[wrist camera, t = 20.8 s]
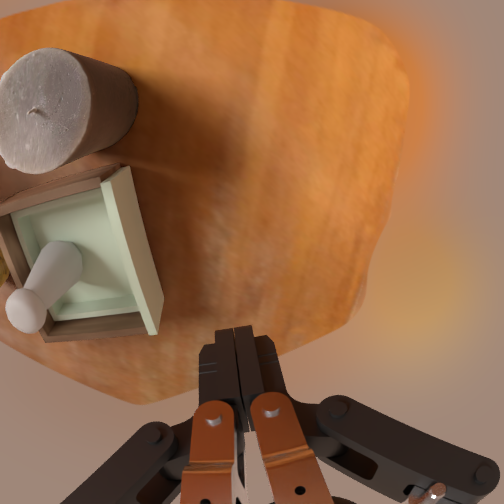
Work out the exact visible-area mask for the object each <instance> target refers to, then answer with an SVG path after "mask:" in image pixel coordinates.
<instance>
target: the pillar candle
mask: <svg viewBox="0 0 504 504" xmlns="http://www.w3.org/2000/svg"><path fill="white" fill-rule="evenodd" d="M137 110H138V92H137V88H136V87H135V86H134V84H133V82H132V81H131V78H130V76H129V75H128V74H127V73H126V72H124V71H123V70H121V69H120V68H118V67H115V66H112V65H110V64H107V63H104V62H101V61H98V60H95V59H92V58H89V57H85V56H82V55H79V54H76V53H72V52H69V51H66V50H62V49H58V48H42V49H39V50H36V51H33V52H30V53H28V54H26V55H25V56H23V57H21V58H20V59H19V60H17V61H16V62H15V63H14V64H13V65H12V66H11V67H10V68H9V69H8V71H6V72H5V73H4V74H3V75H2V78H1V81H0V155H1V156H2V157H3V159H4V160H5V164H7V166H8V167H10V168H12V169H17V170H19V171H22V172H23V173H29V174H42V173H46V172H50V171H52V170H55V169H57V168H59V167H61V166H63V165H65V164H68V163H70V162H72V161H75V160H77V159H79V158H81V157H84V156H86V155H89V154H91V153H94V152H96V151H99V150H102V149H105V148H107V147H110V146H112V145H113V144H115V143H116V142H118V141H119V140H120V139H122V137H123V136H124V135H125V134H126V133H127V132H128V131H129V129H130V128H131V126H132V124H133V123H134V120H135V117H136V115H137Z"/></svg>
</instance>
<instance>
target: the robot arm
mask: <svg viewBox="0 0 504 504" xmlns="http://www.w3.org/2000/svg"><path fill="white" fill-rule="evenodd" d="M234 333H235V336H234ZM247 417H248V418H247ZM248 420H249V424H250V428H251V431H255V432H256V436H257V440H258V445H259V449H260V453H261V456H262V460H263V463H264V467H265V471H266V475H267V478H268V482H269V486H270V489H271V493H272V497H273V500H274V502H273V503H270V504H356V503H354V502H351V501H350V500H347V499H344V498H340V497H335V496H331V494H330V492H329V489H328V487H327V484H326V482H325V479H324V477H323V474H322V472H321V469H320V467H319V464H318V462H317V459H316V457H318V458H319V459H320V460H321V461H323V462H324V463H326V464H328V465H330V466H331V467H333V468H335V469H336V470H338V471H340V472H342V473H343V474H345V475H347V476H349V477H351V478H352V479H354V480H356V481H358V482H360V483H362V484H364V485H366V486H367V487H369V488H371V489H373V490H375V491H377V492H379V493H381V494H383V495H385V496H387V497H389V498H391V499H393V500H395V501H398V502H400V503H401V504H477V503H478V502H479V501H480V500H481V499H483V498H484V497H485V496H487V495H488V494H489V493H490V492H492V491H493V490H494V489H495V487H496V486H497V484H498V482H499V479H500V471H499V467H498V465H497V464H496V463H495V462H494V461H493V460H491V459H489V458H486V457H484V456H481V455H478V454H476V453H473V452H470V451H468V450H465V449H463V448H460V447H458V446H455V445H452V444H450V443H448V442H445V441H443V440H440V439H438V438H436V437H433V436H431V435H429V434H426V433H424V432H422V431H419V430H417V429H415V428H412V427H410V426H408V425H406V424H404V423H401V422H399V421H397V420H395V419H393V418H391V417H388V416H386V415H384V414H382V413H380V412H378V411H376V410H374V409H371V408H370V407H367V406H365V405H363V404H361V403H359V402H357V401H355V400H353V399H351V398H349V397H347V396H342V395H335V396H331V397H328V398H326V399H324V400H323V401H322V402H321V403H320V404H307V403H301V402H298V401H296V400H294V399H293V398H292V397H290V395H289V394H288V393H287V390H286V387H285V383H284V379H283V375H282V372H281V368H280V364H279V361H278V356H277V353H276V349H275V345H274V342H273V341H272V340H271V339H270V338H269V337H268V336H267V335H264V336H258V337H254V335H253V330H252V325H248V326H242V327H236V328H234V332H233V328H230V329H223V330H217V331H215V343H214V344H207V345H204V346H203V348H202V350H201V352H200V354H199V406H198V408H197V409H196V411H195V413H194V415H193V416H192V417H191V418H190V419H188V420H187V421H185V422H182V423H180V424H177V425H174V426H172V427H170V426H168V425H167V424H165V423H163V422H150V423H147V424H145V425H144V426H142V427H141V428H140V429H139V430H138V431H137V432H136V433H135V434H134V435H133V436H132V437H131V438H130V439H129V440H128V441H127V442H126V443H125V444H123V445H122V446H121V447H120V448H119V449H118V450H117V451H116V452H115V453H114V454H113V455H112V456H111V457H110V458H109V459H108V460H107V461H106V462H105V463H104V464H103V465H102V466H101V467H100V468H98V469H97V470H96V471H95V472H94V473H93V474H92V475H91V476H90V477H89V478H88V479H87V480H86V481H84V482H83V483H82V484H81V485H80V486H79V487H78V488H77V489H76V490H75V491H74V492H72V493H71V494H70V495H69V496H68V497H67V498H66V499H65V500H64V501H63V502H61V503H60V504H170V503H171V502H172V501H173V500H174V499H175V497H177V495H178V494H179V493H180V492H181V494H180V504H249V499H248V494H247V478H246V454H245V439H244V433H245V432H249V425H248Z"/></svg>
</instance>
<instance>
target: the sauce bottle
mask: <svg viewBox="0 0 504 504" xmlns="http://www.w3.org/2000/svg"><path fill="white" fill-rule="evenodd" d="M9 274H10V271H9V268H8V266H7V264H6V261H5V259H4V256H3V254H2V251H1V248H0V287H1V286H2V285H3V283H4V282H5V281H6V280H7V278H8V276H9Z"/></svg>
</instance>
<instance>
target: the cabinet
mask: <svg viewBox="0 0 504 504" xmlns="http://www.w3.org/2000/svg"><path fill="white" fill-rule="evenodd" d="M120 168H121V166H120V163H116V164H112V165H108V166H104V167H100V168H96V169H93V170H89V171H85V172H82V173H78V174H75V175H71V176H68V177H64V178H61V179H58V180H55V181H51V182H48V183H45V184H42V185H39V186H36V187H33V188H30V189H27V190H24V191H21V192H18V193H16V194H15V195H13V196H11V197H10V198H8V199H6V200H5V201H3V202H1V203H0V248H1V251H2V254H3V256H4V259H5V261H6V264H7V266H8V268H9V271H10V273H11V275H12V278H13V280H14V282H15V284H16V287H17V289H20V288H23V287H24V285H25V283H26V281H27V278H28V276H29V274H30V272H31V270H30V267H29V265H28V262H27V260H26V257H25V254H24V252H23V249H22V247H21V244H20V241H19V238H18V236H17V233H16V230H15V227H14V224H13V221H12V218H11V215H10V213H12V212H15V211H18V210H21V209H24V208H27V207H31V206H34V205H37V204H40V203H44V202H47V201H51V200H54V199H58V198H61V197H65V196H69V195H72V194H76V193H80V192H83V191H87V190H91V189H95V188H99V187H101V185H100V183H102V182H103V181H104V180H106V179H107V178H108V177H109V176H111V175H112V174H113V173H115V172H116V171H117V170H119V169H120ZM46 311H47V315H46V319H45V323H44V325H43V326H42V328H41V329H40V330H38V331H39V332H40V334H41V336H42V338H43V340H44V341H45V343H50V342H65V341H78V340H90V339H101V338H112V337H122V336H131V335H140V334H148V331H147V329H146V326H145V324H144V321H143V319H142V316H141V313H140V311H137V312H130V313H122V314H114V315H106V316H97V317H89V318H80V319H71V320H62V321H54V320H53V318H52V316H51V314H50V312H49V310H48V309H47V310H46Z"/></svg>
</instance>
